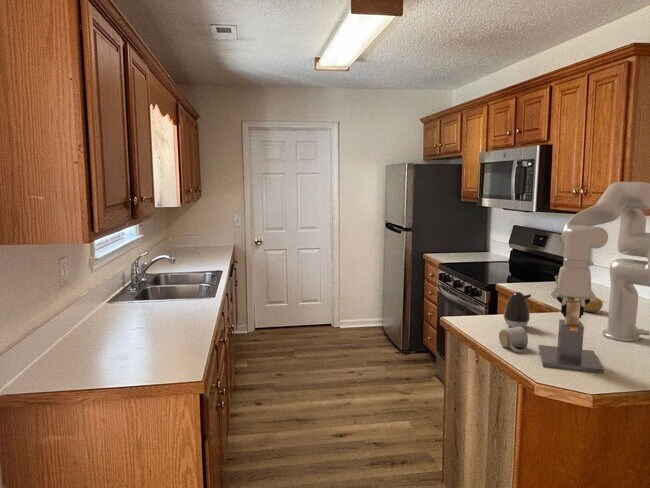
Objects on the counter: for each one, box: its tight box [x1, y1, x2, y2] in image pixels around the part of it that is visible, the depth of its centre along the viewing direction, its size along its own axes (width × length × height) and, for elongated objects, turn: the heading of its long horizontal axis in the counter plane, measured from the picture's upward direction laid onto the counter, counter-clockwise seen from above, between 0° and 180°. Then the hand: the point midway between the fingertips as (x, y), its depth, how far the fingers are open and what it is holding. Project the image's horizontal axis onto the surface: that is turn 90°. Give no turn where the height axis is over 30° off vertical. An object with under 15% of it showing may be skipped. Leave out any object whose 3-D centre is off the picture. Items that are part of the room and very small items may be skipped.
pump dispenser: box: [503, 291, 532, 328], centre depth 205 cm, size 10×10×15 cm
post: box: [563, 299, 580, 326], centre depth 167 cm, size 4×4×19 cm
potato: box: [574, 297, 604, 313], centre depth 229 cm, size 10×14×8 cm
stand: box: [538, 319, 604, 374], centre depth 167 cm, size 18×18×14 cm
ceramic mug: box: [498, 326, 529, 354], centre depth 179 cm, size 11×8×8 cm
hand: (571, 315), depth 166 cm, fingers closed on post, 4 cm apart
